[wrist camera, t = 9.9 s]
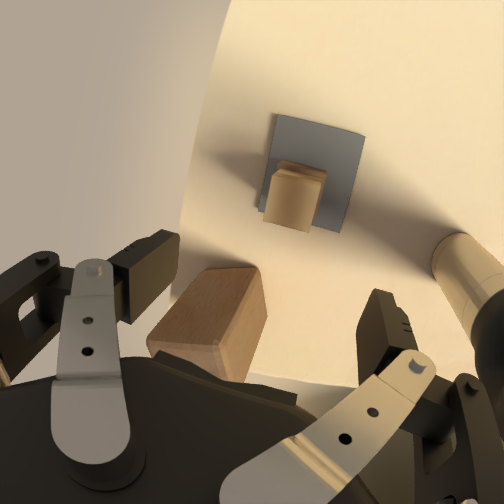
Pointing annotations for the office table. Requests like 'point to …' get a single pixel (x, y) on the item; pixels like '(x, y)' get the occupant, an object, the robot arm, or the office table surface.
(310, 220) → the oak block
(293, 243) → the office table surface
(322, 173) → the walnut block
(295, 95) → the office table surface
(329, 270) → the office table surface
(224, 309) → the block
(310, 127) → the plate
